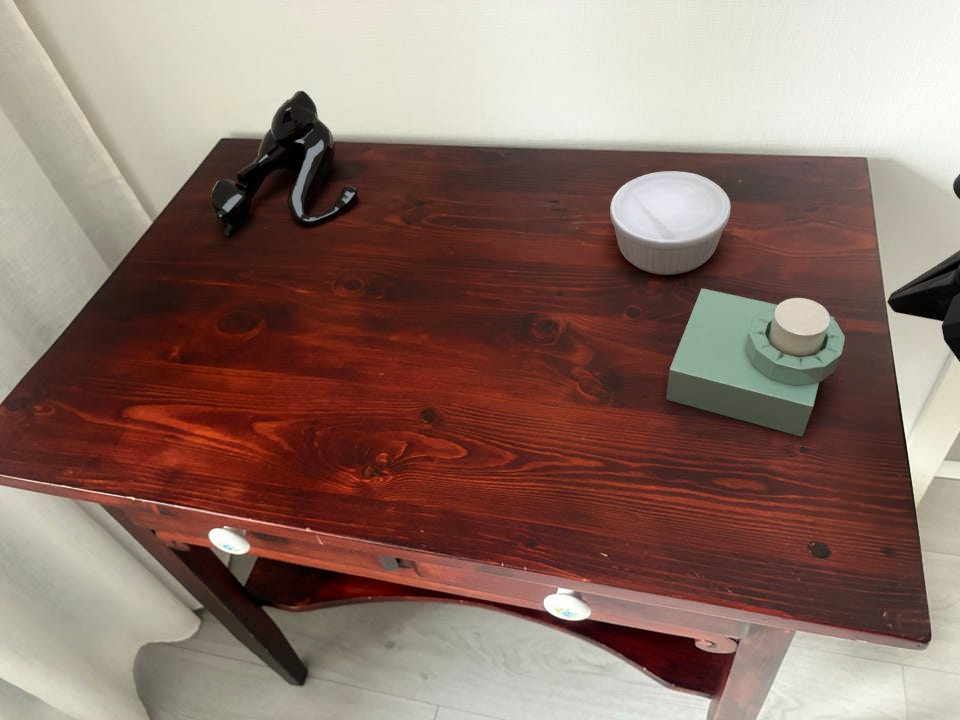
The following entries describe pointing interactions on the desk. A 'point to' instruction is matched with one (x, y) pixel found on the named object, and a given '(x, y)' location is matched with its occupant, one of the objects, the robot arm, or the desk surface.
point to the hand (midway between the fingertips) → (891, 303)
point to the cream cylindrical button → (799, 327)
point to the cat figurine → (285, 166)
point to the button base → (747, 365)
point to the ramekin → (669, 221)
